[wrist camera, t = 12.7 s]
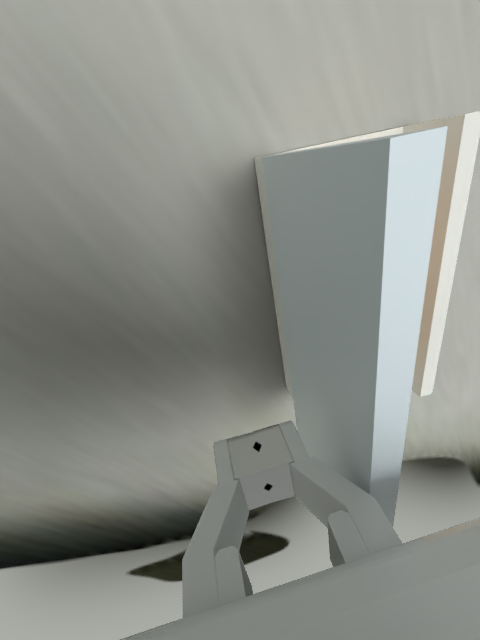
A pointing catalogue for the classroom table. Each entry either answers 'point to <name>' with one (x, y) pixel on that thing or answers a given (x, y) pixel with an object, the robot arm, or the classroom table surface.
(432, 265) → the duct
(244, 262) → the classroom table surface
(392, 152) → the cover
